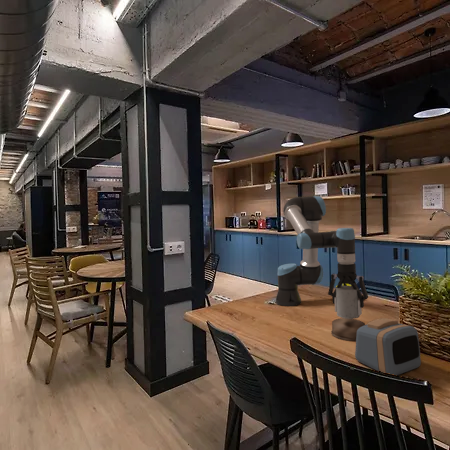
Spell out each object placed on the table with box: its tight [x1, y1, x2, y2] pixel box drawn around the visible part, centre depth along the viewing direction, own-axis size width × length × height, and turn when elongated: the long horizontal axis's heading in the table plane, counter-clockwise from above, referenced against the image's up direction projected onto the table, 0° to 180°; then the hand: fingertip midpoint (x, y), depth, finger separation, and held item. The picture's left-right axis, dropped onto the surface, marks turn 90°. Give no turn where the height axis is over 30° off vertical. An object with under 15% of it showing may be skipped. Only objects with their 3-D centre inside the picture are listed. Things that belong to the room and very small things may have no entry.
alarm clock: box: [354, 317, 422, 376], centre depth 118 cm, size 16×16×16 cm
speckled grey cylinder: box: [335, 285, 361, 319], centre depth 146 cm, size 10×10×12 cm
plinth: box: [330, 317, 366, 342], centre depth 147 cm, size 15×15×5 cm
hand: (348, 312), depth 146 cm, fingers closed on speckled grey cylinder, 9 cm apart
